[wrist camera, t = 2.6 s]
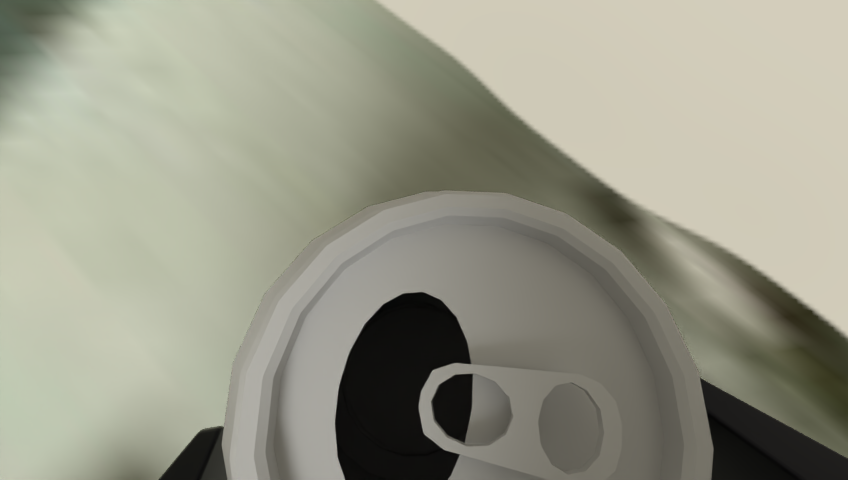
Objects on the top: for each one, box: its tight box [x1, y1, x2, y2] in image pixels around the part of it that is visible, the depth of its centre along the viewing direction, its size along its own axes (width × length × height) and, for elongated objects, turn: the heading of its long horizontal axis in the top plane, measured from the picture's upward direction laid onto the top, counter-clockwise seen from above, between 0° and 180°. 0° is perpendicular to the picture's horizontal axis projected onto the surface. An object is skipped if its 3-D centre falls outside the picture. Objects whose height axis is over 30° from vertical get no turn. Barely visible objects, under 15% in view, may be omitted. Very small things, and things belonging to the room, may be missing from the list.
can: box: [222, 190, 714, 480], centre depth 10 cm, size 8×8×12 cm
